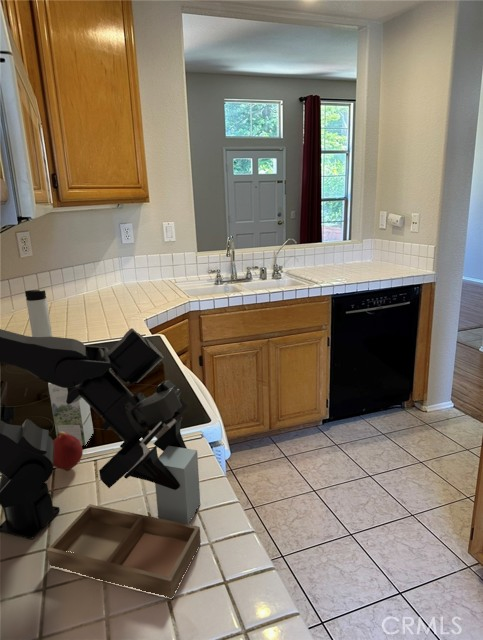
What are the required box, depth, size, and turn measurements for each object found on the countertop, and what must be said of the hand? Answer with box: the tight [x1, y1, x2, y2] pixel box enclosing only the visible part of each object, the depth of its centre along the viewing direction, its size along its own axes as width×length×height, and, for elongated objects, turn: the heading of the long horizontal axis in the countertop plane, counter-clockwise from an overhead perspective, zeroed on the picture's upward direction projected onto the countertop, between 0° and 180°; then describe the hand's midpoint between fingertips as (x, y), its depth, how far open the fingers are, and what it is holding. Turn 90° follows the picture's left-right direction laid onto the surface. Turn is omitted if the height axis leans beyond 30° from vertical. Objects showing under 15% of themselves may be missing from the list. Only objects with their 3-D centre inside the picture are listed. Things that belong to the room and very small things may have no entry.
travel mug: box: [24, 289, 53, 337], centre depth 149 cm, size 6×7×20 cm
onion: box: [52, 432, 83, 472], centre depth 80 cm, size 6×6×8 cm
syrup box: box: [47, 382, 94, 446], centre depth 88 cm, size 6×6×14 cm
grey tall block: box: [154, 446, 201, 525], centre depth 67 cm, size 5×5×10 cm
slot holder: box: [46, 503, 202, 598], centre depth 60 cm, size 18×9×3 cm, turn 73°
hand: (185, 477), depth 67 cm, fingers closed on grey tall block, 5 cm apart
